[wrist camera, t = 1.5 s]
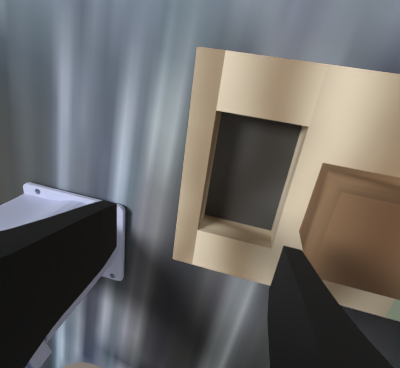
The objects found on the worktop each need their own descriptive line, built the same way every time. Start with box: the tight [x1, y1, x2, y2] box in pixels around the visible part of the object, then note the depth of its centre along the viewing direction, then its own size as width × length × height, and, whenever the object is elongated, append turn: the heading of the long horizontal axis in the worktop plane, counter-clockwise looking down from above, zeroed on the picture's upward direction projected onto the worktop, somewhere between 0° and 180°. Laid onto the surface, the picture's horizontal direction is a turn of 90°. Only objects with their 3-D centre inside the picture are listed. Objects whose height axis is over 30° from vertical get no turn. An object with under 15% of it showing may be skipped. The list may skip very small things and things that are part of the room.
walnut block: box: [299, 163, 400, 300], centre depth 13 cm, size 4×4×4 cm
